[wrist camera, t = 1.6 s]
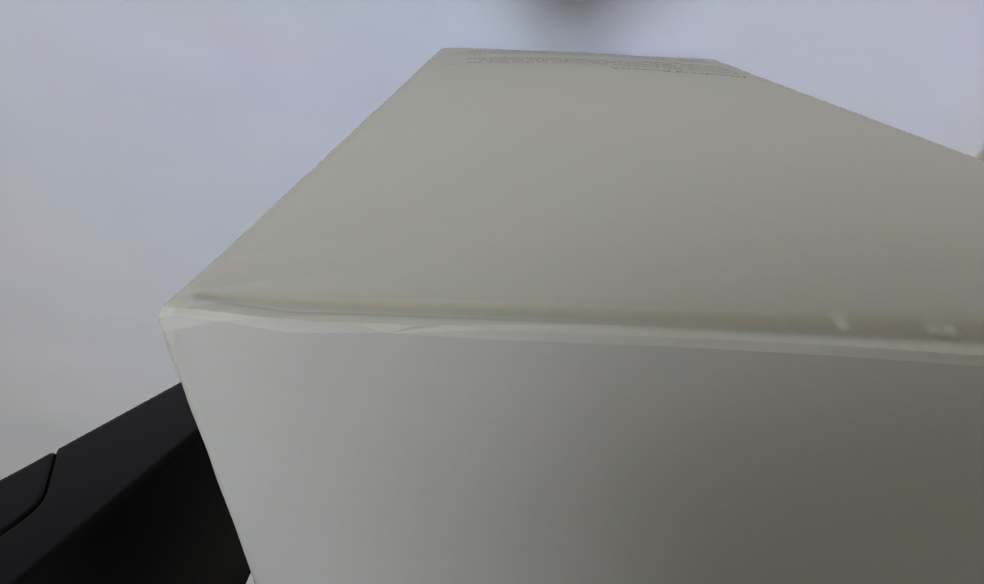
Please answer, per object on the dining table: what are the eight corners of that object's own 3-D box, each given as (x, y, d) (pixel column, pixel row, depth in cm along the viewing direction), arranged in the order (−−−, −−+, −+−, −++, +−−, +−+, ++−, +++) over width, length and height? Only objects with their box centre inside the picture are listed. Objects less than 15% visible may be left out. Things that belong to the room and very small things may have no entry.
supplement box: (434, 40, 13) (93, 263, 3) (720, 55, 13) (1628, 352, 2) (437, 286, 17) (303, 802, 6) (660, 299, 17) (914, 843, 6)
